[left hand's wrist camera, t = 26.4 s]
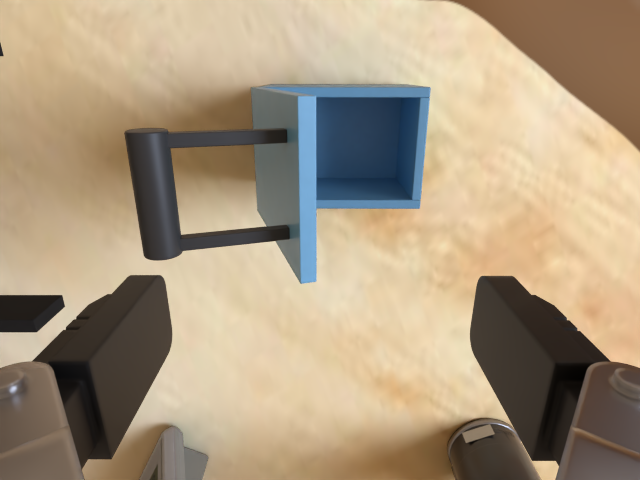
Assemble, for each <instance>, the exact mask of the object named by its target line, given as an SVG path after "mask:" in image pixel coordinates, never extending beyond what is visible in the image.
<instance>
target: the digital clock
mask: <svg viewBox="0 0 640 480" xmlns="http://www.w3.org/2000/svg"><path fill="white" fill-rule="evenodd" d="M207 461H208V456H207V455H205V454H202V453H199V452H196V451H194V450H191V449H188V448H185V447H184V444H183V434H182V432H181V431H180V429H179V428H177V427H175V426H171V427H169V428H168V429H166V430H165V431H163V432H162V434H161V436H160V438H159V440H158V442H157V444H156V446H155V448H154V450H153V452H152V454H151V456H150V458H149V460H148V463H147V465H146V467H145V469H144V471H143V473H142V475H141V477H140V479H139V480H202V478H203V475H204V471H205V468H206V464H207Z"/></svg>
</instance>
